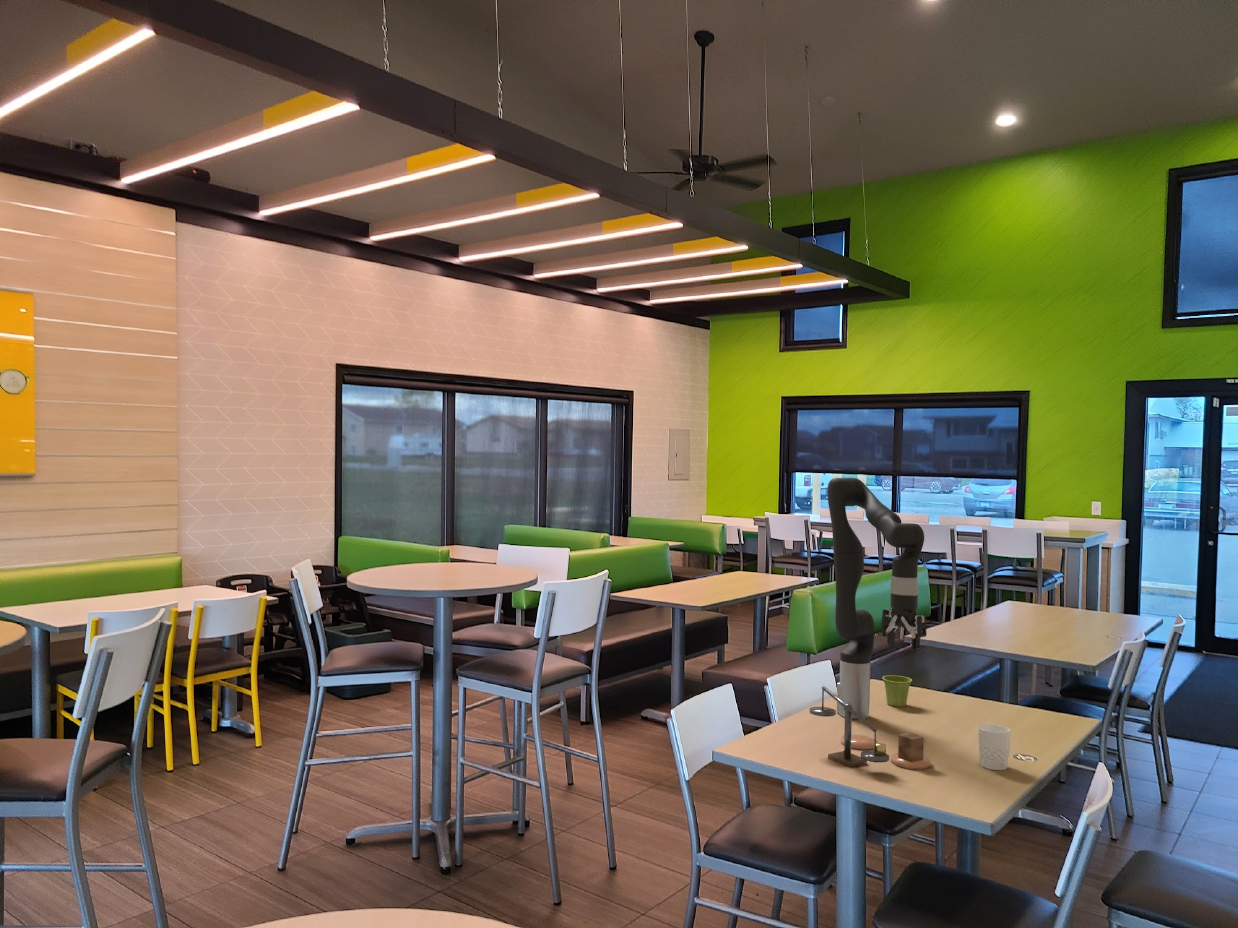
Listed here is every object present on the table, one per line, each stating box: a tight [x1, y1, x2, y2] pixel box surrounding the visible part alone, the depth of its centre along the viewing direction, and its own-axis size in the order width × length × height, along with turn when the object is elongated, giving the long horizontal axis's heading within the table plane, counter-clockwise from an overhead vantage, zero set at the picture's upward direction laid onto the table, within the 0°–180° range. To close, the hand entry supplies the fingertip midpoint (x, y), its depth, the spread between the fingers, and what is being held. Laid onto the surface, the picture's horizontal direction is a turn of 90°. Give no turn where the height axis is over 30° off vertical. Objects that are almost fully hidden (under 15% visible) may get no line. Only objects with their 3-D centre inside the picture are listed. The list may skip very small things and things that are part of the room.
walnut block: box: [897, 732, 925, 762], centre depth 231 cm, size 4×4×6 cm
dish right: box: [890, 752, 932, 771], centre depth 231 cm, size 10×10×1 cm
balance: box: [809, 685, 890, 768], centre depth 232 cm, size 26×7×18 cm, turn 31°
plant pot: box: [881, 674, 913, 708], centre depth 291 cm, size 9×9×9 cm
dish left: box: [840, 734, 879, 751], centre depth 247 cm, size 10×10×1 cm
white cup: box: [977, 723, 1012, 771], centre depth 230 cm, size 8×8×10 cm
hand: (903, 648), depth 253 cm, fingers open, 8 cm apart
